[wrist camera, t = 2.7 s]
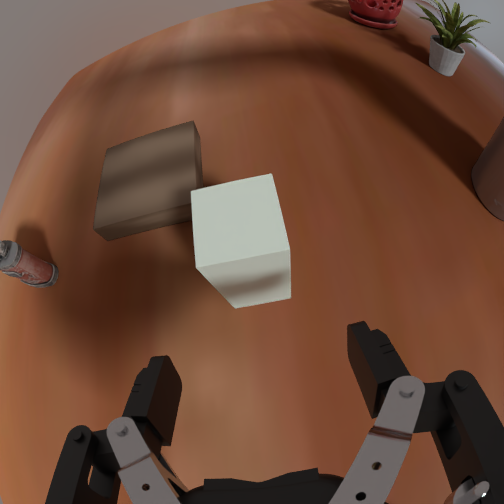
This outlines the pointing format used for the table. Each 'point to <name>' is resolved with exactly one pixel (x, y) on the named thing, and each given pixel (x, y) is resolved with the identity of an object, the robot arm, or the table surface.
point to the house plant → (448, 39)
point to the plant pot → (376, 12)
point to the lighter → (26, 266)
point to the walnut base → (149, 182)
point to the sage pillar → (242, 241)
